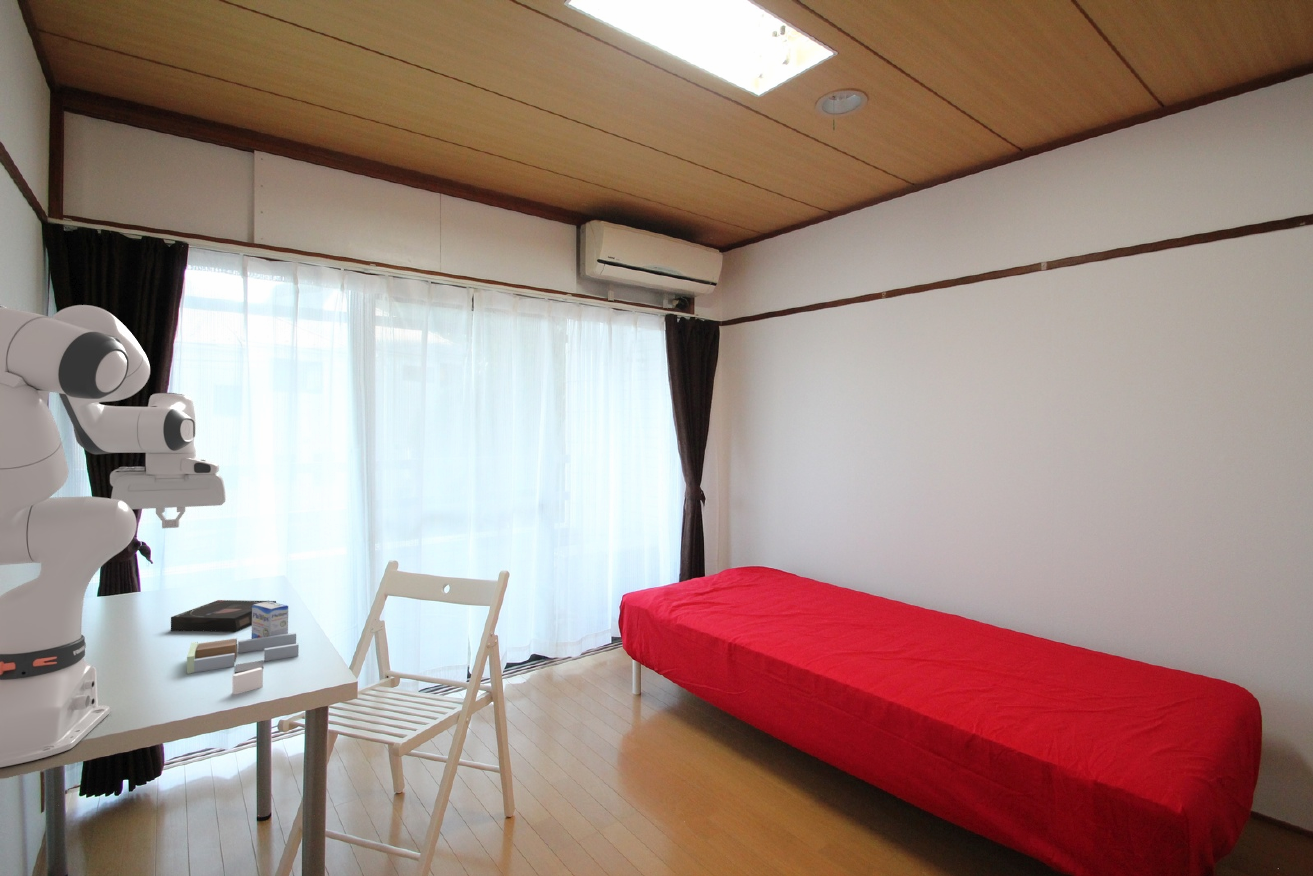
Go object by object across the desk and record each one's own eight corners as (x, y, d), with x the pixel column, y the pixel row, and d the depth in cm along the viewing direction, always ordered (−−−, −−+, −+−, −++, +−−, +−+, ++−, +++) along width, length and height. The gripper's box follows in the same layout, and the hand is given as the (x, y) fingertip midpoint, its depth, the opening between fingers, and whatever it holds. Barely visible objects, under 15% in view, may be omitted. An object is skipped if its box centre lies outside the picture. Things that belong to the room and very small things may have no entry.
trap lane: (299, 662, 136) (299, 646, 136) (184, 681, 125) (184, 664, 125) (294, 637, 154) (294, 623, 154) (193, 652, 143) (193, 636, 143)
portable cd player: (236, 634, 157) (237, 618, 157) (170, 632, 158) (170, 617, 158) (278, 615, 174) (278, 601, 174) (217, 614, 174) (218, 600, 174)
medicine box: (250, 640, 151) (251, 604, 151) (269, 635, 155) (269, 600, 155) (270, 645, 148) (270, 609, 147) (288, 640, 151) (289, 604, 151)
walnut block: (235, 663, 137) (235, 644, 137) (195, 669, 133) (196, 650, 133) (236, 656, 141) (236, 638, 141) (198, 661, 137) (198, 643, 137)
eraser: (232, 693, 120) (232, 674, 120) (260, 685, 124) (260, 667, 124) (234, 695, 120) (235, 676, 120) (262, 687, 123) (263, 668, 123)
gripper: (107, 467, 131) (106, 533, 131) (225, 465, 142) (224, 526, 142) (112, 466, 136) (112, 529, 136) (226, 464, 147) (225, 522, 147)
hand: (170, 527), depth 139 cm, fingers closed
